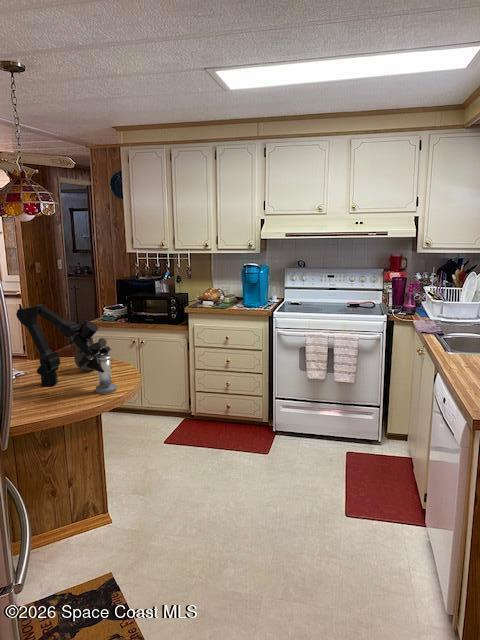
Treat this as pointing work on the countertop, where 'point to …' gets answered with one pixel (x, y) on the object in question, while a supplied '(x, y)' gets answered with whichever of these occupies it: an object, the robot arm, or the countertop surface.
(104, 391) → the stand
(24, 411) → the countertop surface
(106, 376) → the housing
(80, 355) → the grey round ball
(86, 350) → the robot arm
